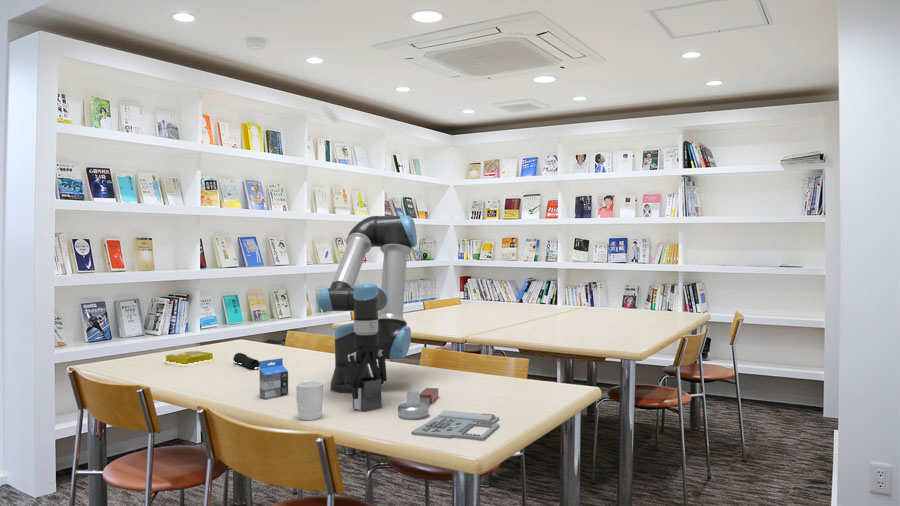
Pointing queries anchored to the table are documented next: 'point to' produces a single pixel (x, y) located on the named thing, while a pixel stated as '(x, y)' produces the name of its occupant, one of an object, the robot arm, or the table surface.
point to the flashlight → (246, 360)
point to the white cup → (309, 400)
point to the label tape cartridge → (273, 379)
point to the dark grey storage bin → (370, 393)
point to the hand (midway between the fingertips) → (367, 406)
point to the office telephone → (458, 425)
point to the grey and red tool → (417, 404)
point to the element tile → (189, 357)
